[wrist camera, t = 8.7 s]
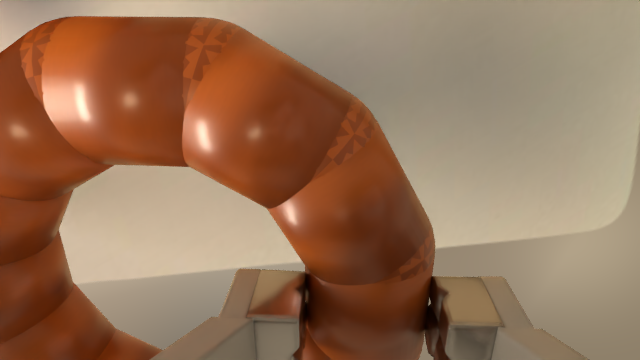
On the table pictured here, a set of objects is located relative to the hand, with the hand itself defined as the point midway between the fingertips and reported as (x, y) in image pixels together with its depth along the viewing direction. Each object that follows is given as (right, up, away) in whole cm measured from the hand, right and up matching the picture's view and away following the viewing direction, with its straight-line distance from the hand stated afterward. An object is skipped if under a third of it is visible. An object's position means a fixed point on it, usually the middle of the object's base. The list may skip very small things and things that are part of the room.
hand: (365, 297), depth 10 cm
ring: (-4, 0, +1) cm, 4 cm away
